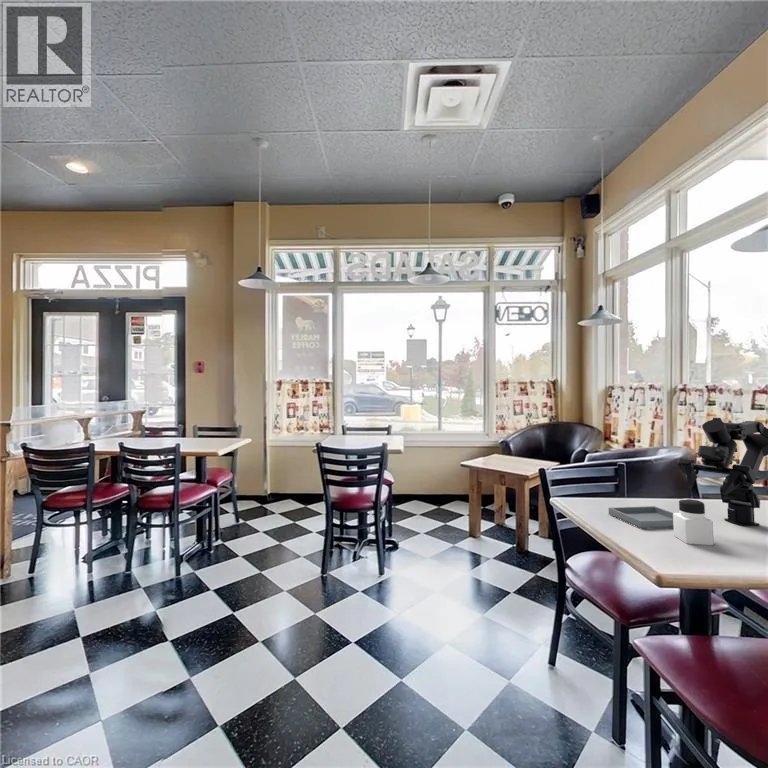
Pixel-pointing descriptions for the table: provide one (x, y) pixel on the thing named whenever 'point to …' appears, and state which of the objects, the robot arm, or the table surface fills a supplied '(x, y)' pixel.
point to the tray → (644, 516)
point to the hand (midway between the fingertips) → (705, 490)
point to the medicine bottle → (693, 523)
